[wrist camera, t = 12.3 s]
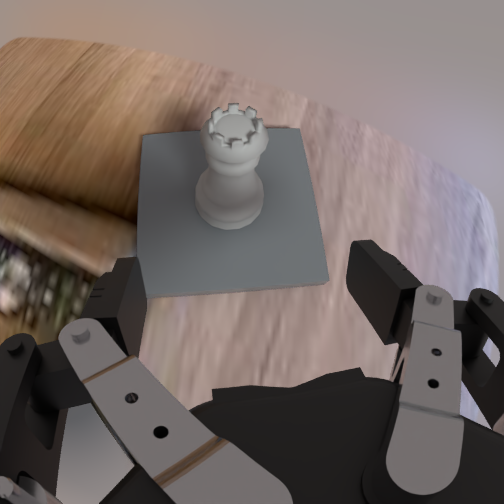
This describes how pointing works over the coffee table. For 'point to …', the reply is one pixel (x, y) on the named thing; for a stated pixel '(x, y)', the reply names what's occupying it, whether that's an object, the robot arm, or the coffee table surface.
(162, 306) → the coffee table surface
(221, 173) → the rook chess piece
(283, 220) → the slate tile
